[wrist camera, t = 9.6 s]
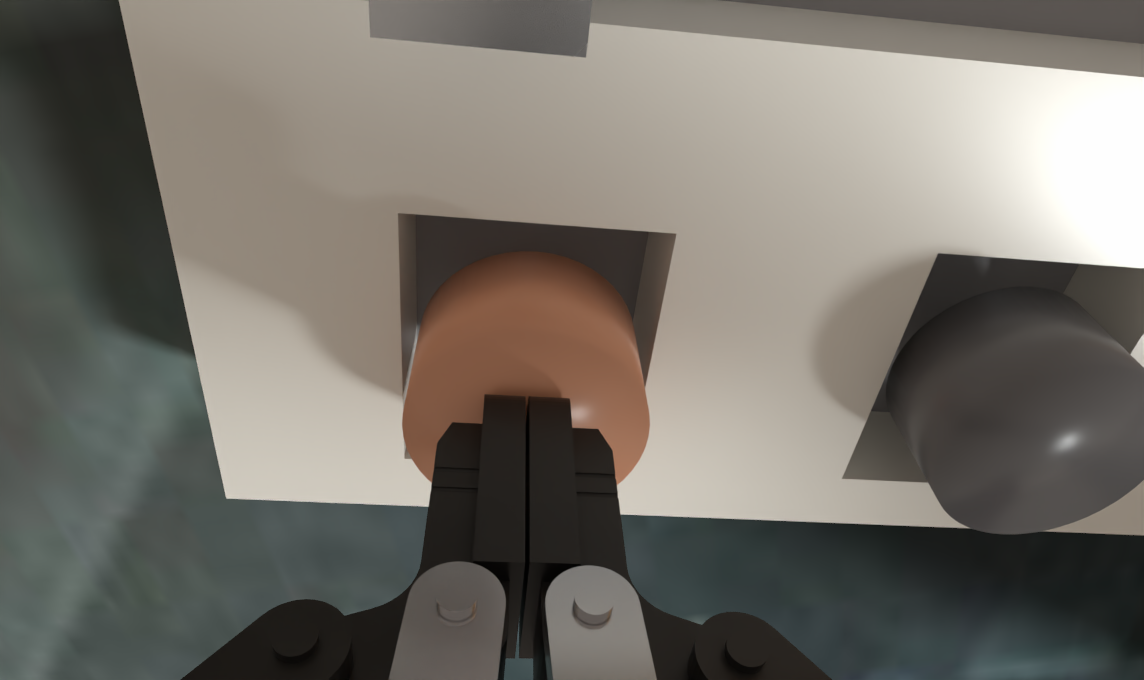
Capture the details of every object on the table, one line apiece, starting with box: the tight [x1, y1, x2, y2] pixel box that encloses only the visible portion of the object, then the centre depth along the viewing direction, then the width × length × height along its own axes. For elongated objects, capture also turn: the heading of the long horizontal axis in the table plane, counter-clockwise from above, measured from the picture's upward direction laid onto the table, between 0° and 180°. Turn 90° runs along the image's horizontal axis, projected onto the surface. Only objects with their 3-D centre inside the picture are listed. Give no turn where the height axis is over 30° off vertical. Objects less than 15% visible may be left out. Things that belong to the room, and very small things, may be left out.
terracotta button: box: [402, 251, 650, 485], centre depth 15 cm, size 4×4×3 cm
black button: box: [886, 287, 1144, 534], centre depth 16 cm, size 4×4×3 cm
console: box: [119, 0, 1144, 535], centre depth 15 cm, size 23×18×4 cm
